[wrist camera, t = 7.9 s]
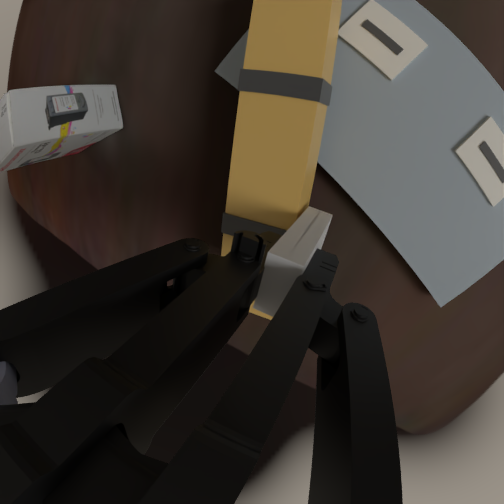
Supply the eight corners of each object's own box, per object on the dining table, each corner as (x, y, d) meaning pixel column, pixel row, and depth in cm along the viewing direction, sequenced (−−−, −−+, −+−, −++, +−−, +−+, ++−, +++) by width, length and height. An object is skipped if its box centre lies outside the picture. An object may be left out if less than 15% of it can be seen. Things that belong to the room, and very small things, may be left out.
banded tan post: (282, -25, 13) (255, -57, 9) (347, -21, 11) (336, -57, 8) (239, 273, 23) (209, 305, 19) (292, 291, 22) (271, 328, 18)
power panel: (224, 73, 19) (211, 70, 18) (335, -44, 12) (330, -56, 10) (437, 296, 19) (441, 310, 18) (555, 194, 12) (567, 201, 11)
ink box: (78, 153, 28) (-13, 182, 18) (70, 113, 26) (-21, 132, 17) (127, 128, 24) (14, 151, 14) (117, 80, 23) (6, 87, 13)
